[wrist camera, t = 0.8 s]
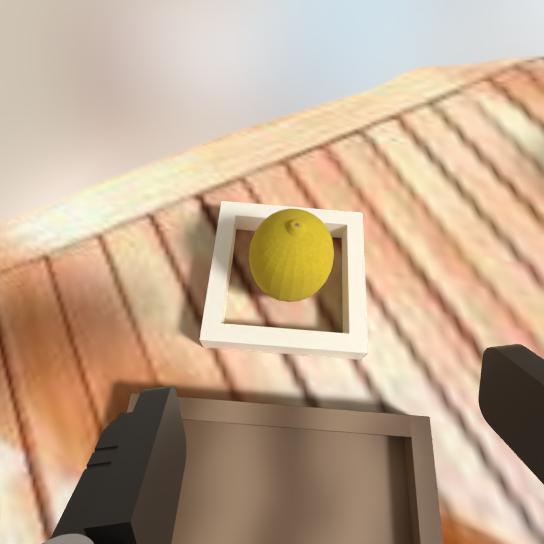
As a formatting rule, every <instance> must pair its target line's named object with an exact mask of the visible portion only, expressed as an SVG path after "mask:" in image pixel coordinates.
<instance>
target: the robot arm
mask: <svg viewBox="0 0 544 544" xmlns="http://www.w3.org/2000/svg"><path fill="white" fill-rule="evenodd" d="M479 406H480V410H481V413H482V415H483V417H484V419H485V420H486V422H487V423H488V424H489V425H490V426H491V428H492V429H493V430H494V431H495V432H496V433H497V434H498V435H499V436H500V437H501V438H502V439H503V441H504V442H505V443H506V444H507V445H508V446H509V447H510V448H511V449H512V450H513V451H514V453H515V454H516V455H517V456H518V457H519V458H520V459H521V460H522V461H523V462H524V463H525V464H526V466H527V467H528V468H529V469H530V470H531V471H532V472H533V473H534V474H535V475H536V476H537V478H538V479H539V480H540V481H541V482H542V483H543V484H544V359H542V358H541V357H539V356H538V355H536V354H535V353H533V352H532V351H530V350H529V349H527V348H526V347H524V346H523V345H520V344H514V345H506V346H498V347H490V348H487V349H486V350H485V351H484V354H483V360H482V369H481V379H480V388H479ZM185 463H186V436H185V431H184V426H183V421H182V416H181V411H180V406H179V401H178V396H177V391H176V389H175V387H174V386H166V387H158V388H150V389H143V390H142V391H141V393H140V395H139V398H138V400H137V402H136V405H135V407H134V410H133V412H128V413H121V414H120V415H119V416H118V417H117V418H116V419H115V420H114V421H113V422H112V423H111V424H110V425H109V426H108V427H107V428H106V429H105V430H104V431H103V433H102V435H101V437H100V439H99V441H98V443H97V446H96V448H95V452H94V453H93V454H92V456H91V458H90V460H89V462H88V464H87V469H85V470H84V472H83V474H82V476H81V478H80V480H79V482H78V484H77V486H76V488H75V490H74V492H73V494H72V496H71V498H70V500H69V502H68V504H67V506H66V508H65V510H64V512H63V514H62V516H61V518H60V520H59V522H58V524H57V526H56V528H55V530H54V532H53V535H52V536H51V538H50V540H48V541H46V542H44V543H42V544H171V542H172V537H173V531H174V525H175V520H176V514H177V508H178V503H179V497H180V492H181V486H182V480H183V475H184V469H185Z"/></svg>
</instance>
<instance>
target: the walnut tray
mask: <svg viewBox="0 0 544 544" xmlns="http://www.w3.org/2000/svg"><path fill="white" fill-rule="evenodd" d="M139 395H140V394H137V393H131V396H130V400H129V404H128V409H127V413H128V412H133V410H134V407H135V405H136V402H137V400H138V398H139ZM178 401H179V406H180V411H181V416H182V421H183V426H184V431H185V436H186V463H185V469H184V475H183V480H182V486H181V492H180V497H179V503H178V508H177V514H176V520H175V525H174V531H173V537H172V542H171V544H443V539H442V529H441V520H440V511H439V501H438V492H437V482H436V473H435V464H434V454H433V445H432V436H431V426H430V417H427V416H414V415H402V414H389V413H377V412H364V411H351V410H339V409H326V408H314V407H301V406H288V405H276V404H263V403H251V402H238V401H225V400H213V399H200V398H188V397H178Z"/></svg>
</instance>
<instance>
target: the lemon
mask: <svg viewBox="0 0 544 544" xmlns="http://www.w3.org/2000/svg"><path fill="white" fill-rule="evenodd" d="M248 259H249V266H250V271H251V274H252V276H253V278H254V280H255V282H256V284H257V285H258V286H259V287H260V289H261V290H262V291H263V292H264V293H266V294H267V295H269V296H270V297H272V298H275V299H277V300H280V301H287V302H293V301H300V300H303V299H306V298H308V297H310V296H311V295H313V294H314V293H316V292H317V291H318V290H319V289H320V288H321V287H322V286H323V285H324V283H325V282H326V280H327V278H328V276H329V274H330V272H331V270H332V265H333V259H334V248H333V241H332V237H331V235H330V233H329V230H328V228H327V227H326V226H325V224H324V223H323V222H322V221H321V220H320V219H319V218H318V217H316V216H315V215H314V214H312V213H310V212H308V211H305V210H301V209H285V210H280V211H278V212H276V213H273V214H271V215H270V216H269V217H267V218H266V219H265V220H264V221H263V222H262V223H261V224H260V225H259V227H258V228H257V230H256V231H255V234H254V236H253V238H252V240H251V243H250V249H249V257H248Z"/></svg>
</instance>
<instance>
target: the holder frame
mask: <svg viewBox="0 0 544 544" xmlns="http://www.w3.org/2000/svg"><path fill="white" fill-rule="evenodd" d="M285 209H301V210H305V211H308V212H310V213H312V214H314V215H315V216H316V217H318V218H319V219H320V220H321V221H322V222H323V223H324V224H325V226H326V227H327V228H328V230H329V233H330V235H331V237H335V238H342V312H343V333H334V332H322V331H310V330H297V329H285V328H273V327H260V326H248V325H235V324H224V320H225V313H226V305H227V298H228V290H229V282H230V275H231V267H232V260H233V252H234V245H235V237H236V230H237V229H238V230H250V231H256V230H257V228H258V227H259V225H260V224H261V223H262V222H263V221H264V220H265V219H266V218H267V217H269V216H270V215H271V214H273V213H276V212H278V211H280V210H285ZM199 340H200V342H201V344H202V346H203V347H206V348H219V349H231V350H243V351H256V352H268V353H281V354H293V355H306V356H318V357H331V358H343V359H356V360H361V359H362V358H363V357H364V356H366V355H367V354H368V333H367V309H366V286H365V262H364V239H363V216H362V213H360V212H348V211H336V210H323V209H311V208H299V207H287V206H275V205H263V204H251V203H239V202H227V201H221V207H220V214H219V220H218V226H217V233H216V239H215V245H214V251H213V258H212V264H211V270H210V276H209V283H208V289H207V295H206V302H205V308H204V314H203V320H202V327H201V333H200V339H199Z"/></svg>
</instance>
